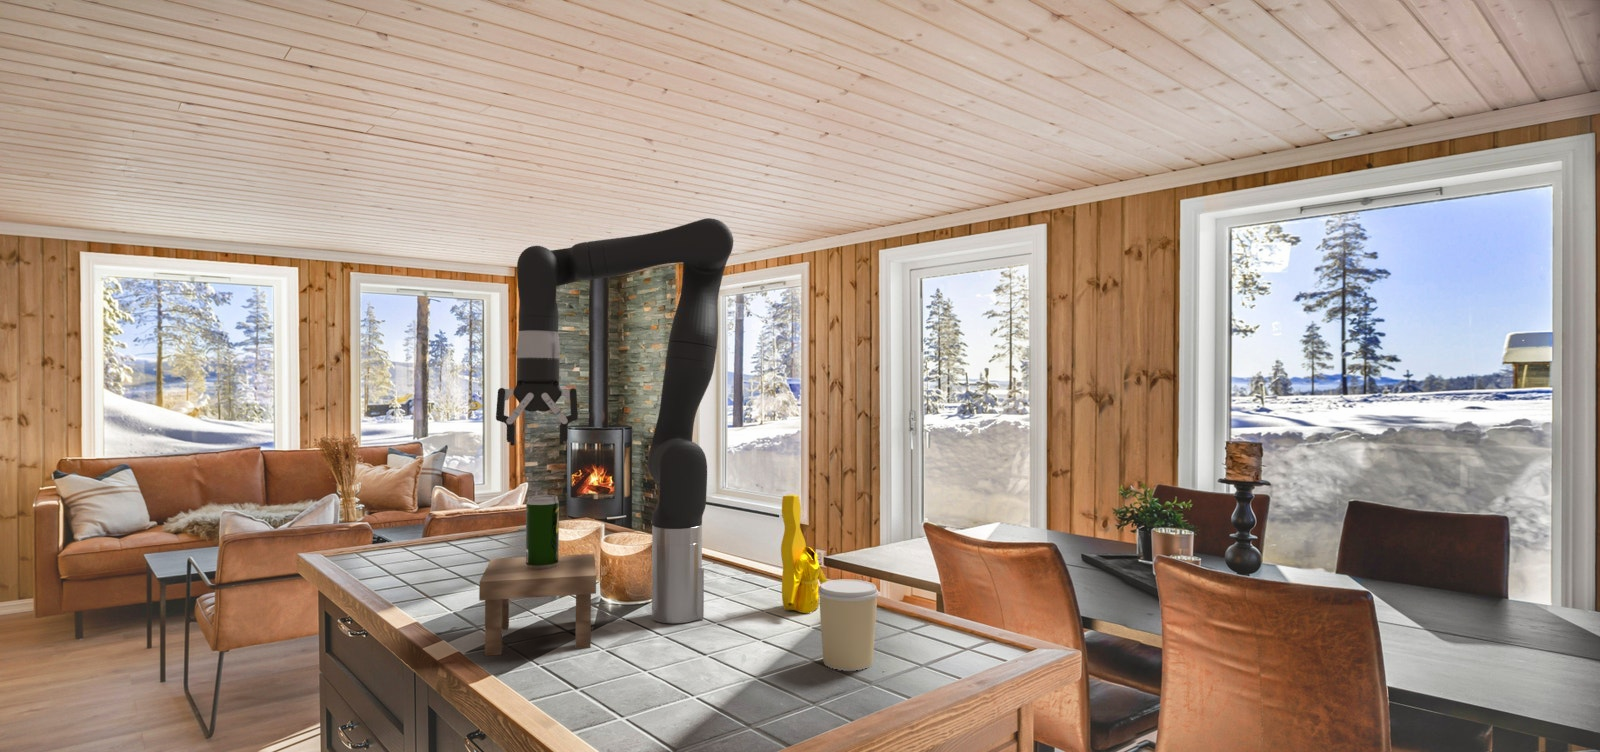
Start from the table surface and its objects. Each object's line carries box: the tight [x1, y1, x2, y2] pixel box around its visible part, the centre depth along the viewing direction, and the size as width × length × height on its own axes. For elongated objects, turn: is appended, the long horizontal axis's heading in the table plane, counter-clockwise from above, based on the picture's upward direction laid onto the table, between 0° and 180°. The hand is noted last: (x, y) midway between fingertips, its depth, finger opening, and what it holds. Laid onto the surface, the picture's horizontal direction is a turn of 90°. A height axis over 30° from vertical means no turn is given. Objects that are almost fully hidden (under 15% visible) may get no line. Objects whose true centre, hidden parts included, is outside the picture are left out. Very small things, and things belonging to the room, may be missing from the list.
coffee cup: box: [818, 578, 879, 672], centre depth 128 cm, size 9×9×12 cm
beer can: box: [525, 494, 560, 570], centre depth 141 cm, size 5×5×12 cm
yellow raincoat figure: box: [780, 494, 828, 614], centre depth 159 cm, size 18×8×22 cm, turn 156°
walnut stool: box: [478, 553, 597, 656], centre depth 141 cm, size 18×18×12 cm
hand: (537, 444), depth 150 cm, fingers open, 8 cm apart
